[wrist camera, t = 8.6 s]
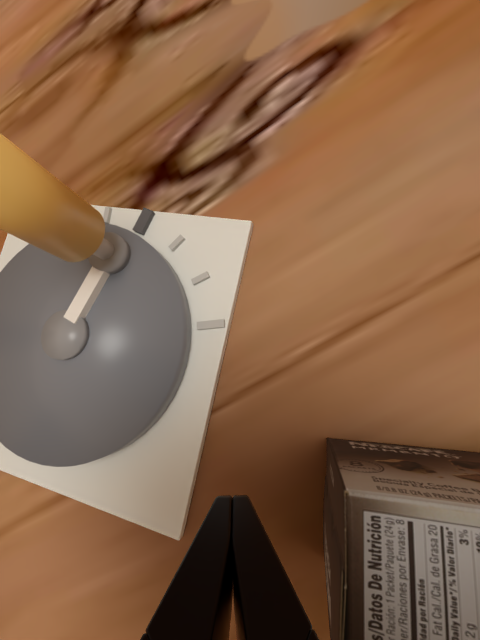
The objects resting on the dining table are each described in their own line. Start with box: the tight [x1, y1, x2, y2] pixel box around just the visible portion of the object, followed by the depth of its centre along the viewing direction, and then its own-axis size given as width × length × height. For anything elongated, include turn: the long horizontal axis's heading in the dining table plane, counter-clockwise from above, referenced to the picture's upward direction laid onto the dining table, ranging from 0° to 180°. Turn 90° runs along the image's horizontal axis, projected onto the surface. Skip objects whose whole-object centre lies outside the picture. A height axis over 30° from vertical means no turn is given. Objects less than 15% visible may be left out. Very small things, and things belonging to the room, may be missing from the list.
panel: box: [0, 205, 253, 541], centre depth 22 cm, size 20×20×1 cm
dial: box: [0, 133, 191, 467], centre depth 16 cm, size 16×16×12 cm
